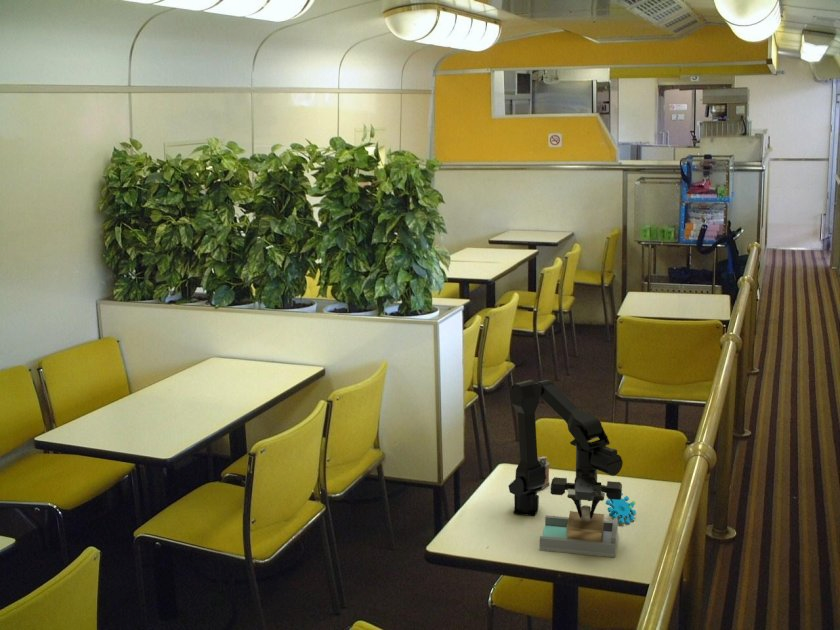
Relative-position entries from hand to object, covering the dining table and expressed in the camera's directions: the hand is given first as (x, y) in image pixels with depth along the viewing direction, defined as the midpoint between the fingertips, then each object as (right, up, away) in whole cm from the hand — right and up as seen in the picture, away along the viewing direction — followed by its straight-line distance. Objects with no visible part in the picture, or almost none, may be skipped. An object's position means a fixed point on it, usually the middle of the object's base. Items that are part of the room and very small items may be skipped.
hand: (585, 517), depth 249 cm
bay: (-1, -7, +2) cm, 7 cm away
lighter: (-8, +1, +37) cm, 38 cm away
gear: (+13, -4, +15) cm, 20 cm away
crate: (0, -6, +1) cm, 6 cm away
